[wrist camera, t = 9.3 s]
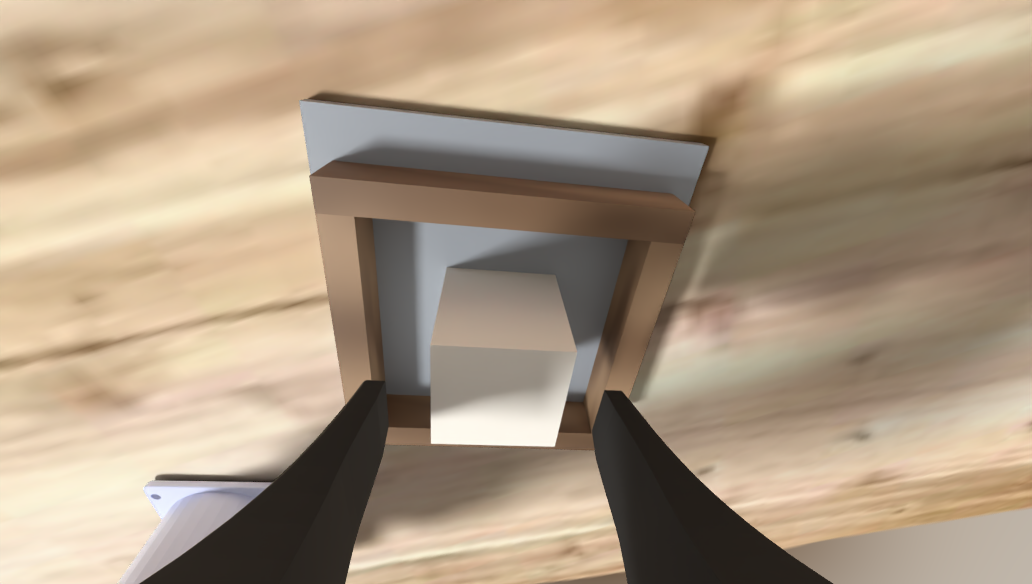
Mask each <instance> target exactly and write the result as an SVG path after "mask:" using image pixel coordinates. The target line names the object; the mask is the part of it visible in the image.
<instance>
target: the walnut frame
mask: <svg viewBox="0 0 1032 584" xmlns="http://www.w3.org/2000/svg"><path fill="white" fill-rule="evenodd" d="M309 177H310V183H311V189H312V196H313V202H314V208H315V215H316V221H317V227H318V234H319V240H320V246H321V253H322V259H323V265H324V272H325V278H326V284H327V291H328V297H329V303H330V310H331V316H332V323H333V329H334V335H335V342H336V348H337V354H338V361H339V367H340V373H341V380H342V386H343V392H344V399H345V405H346V404H347V402H348V401H349V400H350V399H351V397H352V396H353V395H354V393H355V392H356V391H357V389H358V388H359V387H360V385H361V384H362V383H363V382H364V381H365V380H376V381H385V370H384V357H383V345H382V333H381V320H380V308H379V296H378V283H377V271H376V258H375V246H374V234H373V221H372V218H376V219H388V220H400V221H412V222H424V223H436V224H447V225H459V226H471V227H483V228H495V229H507V230H519V231H531V232H543V233H555V234H566V235H578V236H590V237H602V238H614V239H626V240H628V242H627V246H626V250H625V253H624V257H623V260H622V264H621V268H620V271H619V275H618V278H617V282H616V286H615V289H614V293H613V296H612V300H611V304H610V307H609V311H608V314H607V318H606V322H605V325H604V329H603V332H602V336H601V340H600V343H599V347H598V350H597V354H596V358H595V361H594V365H593V368H592V372H591V376H590V379H589V383H588V386H587V390H586V394H585V397H584V401H583V402H569V401H566V402H565V406H564V410H563V414H562V418H561V423H560V427H559V431H558V435H557V439H556V443H555V447H543V446H503V445H463V444H431V396H419V395H394V394H387V407H388V419H389V427H388V432H387V437H386V442H385V445H422V446H458V447H495V448H532V449H569V450H595V449H594V443H593V436H592V428H593V425H594V422H595V419H596V415H597V412H598V409H599V406H600V402H601V399H602V396H603V393H604V390H618V391H622V392H623V393H624V394H625V395H626V396H627V398H628V399H629V396H630V393H631V390H632V388H633V385H634V382H635V379H636V377H637V374H638V371H639V368H640V365H641V363H642V360H643V357H644V354H645V351H646V349H647V346H648V343H649V340H650V338H651V335H652V332H653V329H654V326H655V324H656V321H657V318H658V315H659V312H660V310H661V307H662V304H663V301H664V299H665V296H666V293H667V290H668V287H669V285H670V282H671V279H672V276H673V273H674V271H675V268H676V265H677V262H678V259H679V257H680V254H681V251H682V248H683V246H684V243H685V240H686V237H687V234H688V232H689V229H690V226H691V223H692V220H693V218H694V215H695V211H694V210H693V209H692V208H690V207H689V206H688V205H686V204H685V203H684V202H683V201H681V200H680V199H679V198H677V197H676V196H675V195H673V194H671V193H661V192H651V191H641V190H630V189H620V188H610V187H599V186H589V185H579V184H569V183H558V182H548V181H538V180H528V179H517V178H507V177H497V176H487V175H476V174H466V173H456V172H446V171H435V170H425V169H415V168H405V167H394V166H384V165H374V164H364V163H353V162H343V161H333V160H332V161H331V162H329V163H328V164H326V165H325V166H323V167H322V168H320V169H319V170H317V171H316V172H314V173H313V174H311V175H310V176H309Z"/></svg>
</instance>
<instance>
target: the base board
mask: <svg viewBox="0 0 1032 584" xmlns="http://www.w3.org/2000/svg"><path fill="white" fill-rule="evenodd" d="M299 103H300V109H301V116H302V122H303V128H304V135H305V141H306V148H307V154H308V160H309V167H310V173H311V174H313V173H314V172H316V171H317V170H319V169H320V168H322V167H323V166H325V165H326V164H328V163H329V162H331V161H332V160H333V161H343V162H353V163H364V164H374V165H384V166H394V167H405V168H415V169H425V170H435V171H446V172H456V173H466V174H476V175H487V176H497V177H507V178H517V179H528V180H538V181H548V182H558V183H569V184H579V185H589V186H599V187H610V188H620V189H630V190H641V191H651V192H661V193H671V194H673V195H675V196H676V197H677V198H679V199H680V200H681V201H683V202H684V203H685V204H686V205H688V206H689V204H690V201H691V198H692V195H693V192H694V189H695V186H696V183H697V180H698V178H699V175H700V172H701V169H702V166H703V163H704V160H705V157H706V154H707V152H708V149H709V146H707V145H705V144H703V143H696V142H687V141H678V140H670V139H661V138H652V137H643V136H634V135H625V134H616V133H607V132H598V131H589V130H580V129H571V128H563V127H554V126H545V125H536V124H527V123H518V122H509V121H500V120H491V119H482V118H473V117H464V116H456V115H447V114H438V113H429V112H420V111H411V110H402V109H393V108H384V107H375V106H366V105H357V104H349V103H340V102H331V101H322V100H313V99H304V100H300V101H299ZM372 221H373V234H374V246H375V258H376V271H377V283H378V296H379V308H380V320H381V333H382V345H383V357H384V370H385V382H386V394H394V395H419V396H431V385H430V344H431V339H432V334H433V329H434V325H435V320H436V315H437V311H438V306H439V301H440V297H441V292H442V287H443V282H444V278H445V273H446V268H447V267H449V268H463V269H478V270H492V271H506V272H521V273H535V274H550V275H555V276H556V279H557V283H558V286H559V290H560V293H561V297H562V300H563V304H564V307H565V311H566V314H567V318H568V321H569V325H570V328H571V332H572V335H573V339H574V342H575V346H576V349H577V356H576V360H575V364H574V368H573V373H572V377H571V381H570V385H569V389H568V393H567V398H566V401H569V402H583V401H584V397H585V394H586V390H587V386H588V383H589V379H590V376H591V372H592V368H593V365H594V361H595V358H596V354H597V350H598V347H599V343H600V340H601V336H602V332H603V329H604V325H605V322H606V318H607V314H608V311H609V307H610V304H611V300H612V296H613V293H614V289H615V286H616V282H617V278H618V275H619V271H620V268H621V264H622V260H623V257H624V253H625V250H626V246H627V242H628V240H626V239H614V238H602V237H590V236H578V235H566V234H555V233H543V232H531V231H519V230H507V229H495V228H483V227H471V226H459V225H447V224H436V223H424V222H412V221H400V220H388V219H376V218H372Z"/></svg>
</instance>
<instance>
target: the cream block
mask: <svg viewBox="0 0 1032 584" xmlns="http://www.w3.org/2000/svg"><path fill="white" fill-rule="evenodd" d="M576 356H577V349H576V346H575V342H574V339H573V335H572V332H571V328H570V325H569V321H568V318H567V314H566V311H565V307H564V304H563V300H562V297H561V293H560V290H559V286H558V283H557V279H556V276H555V275H550V274H535V273H521V272H506V271H492V270H478V269H463V268H449V267H447V268H446V273H445V278H444V282H443V287H442V292H441V297H440V301H439V306H438V311H437V315H436V320H435V325H434V329H433V334H432V339H431V344H430V385H431V444H463V445H503V446H543V447H555V443H556V439H557V435H558V431H559V427H560V423H561V418H562V414H563V410H564V406H565V402H566V398H567V393H568V389H569V385H570V381H571V377H572V373H573V368H574V364H575V360H576Z"/></svg>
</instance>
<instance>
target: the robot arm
mask: <svg viewBox="0 0 1032 584" xmlns="http://www.w3.org/2000/svg"><path fill="white" fill-rule="evenodd" d="M388 427H389V419H388V407H387V394H386V382H385V381H376V380H365V381H364V382H363V383H362V384H361V385H360V387H359V388H358V389H357V391H356V392H355V393H354V395H353V396H352V397H351V399H350V400H349V401H348V402H347V404H346V405H345V406H344V407H343V409H342V410H341V411H340V412H339V413H338V415H337V416H336V417H335V418H334V419H333V420H332V422H331V423H330V424H329V425H328V426H327V427H326V429H325V430H324V431H323V432H322V433H321V434H320V435H319V437H318V438H317V439H316V440H315V441H314V442H313V443H312V444H311V445H310V446H309V447H308V448H307V449H306V450H305V451H304V452H303V453H302V454H301V456H300V457H299V458H298V459H297V460H296V461H295V462H294V463H293V464H292V465H291V466H290V467H289V468H288V469H286V470H285V471H284V472H283V473H282V474H281V475H280V476H279V477H278V478H277V479H276V480H275V481H274V482H218V481H160V480H154V481H150V482H148V483H147V484H146V486H145V487H144V488H143V490H144V492H145V494H146V495H147V497H148V499H149V500H150V502H151V503H152V505H153V507H154V508H155V510H156V511H157V513H158V514H159V516H160V518H161V519H162V520H161V522H160V523H159V525H158V526H157V528H156V529H155V530H154V532H153V533H152V535H151V536H150V537H149V539H148V540H147V542H146V543H145V544H144V546H143V547H142V549H141V550H140V552H139V553H138V554H137V556H136V557H135V559H134V560H133V561H132V563H131V564H130V566H129V567H128V568H127V570H126V571H125V573H124V574H123V575H122V577H121V578H120V580H119V581H118V583H117V584H345V582H346V577H347V573H348V569H349V564H350V560H351V556H352V552H353V547H354V543H355V540H356V536H357V533H358V529H359V526H360V523H361V520H362V517H363V514H364V511H365V508H366V505H367V502H368V499H369V496H370V493H371V490H372V487H373V484H374V481H375V478H376V475H377V472H378V468H379V465H380V462H381V459H382V456H383V451H384V447H385V442H386V437H387V432H388ZM592 436H593V443H594V449H595V455H596V460H597V464H598V468H599V471H600V475H601V478H602V482H603V485H604V489H605V492H606V496H607V499H608V502H609V506H610V509H611V513H612V516H613V519H614V523H615V526H616V530H617V534H618V538H619V542H620V546H621V551H622V557H623V562H624V567H625V572H626V577H627V583H628V584H833V583H831V582H830V581H828V580H827V579H825V578H824V577H822V576H821V575H819V574H818V573H816V572H815V571H813V570H812V569H810V568H809V567H807V566H806V565H804V564H803V563H801V562H800V561H798V560H797V559H795V558H794V557H793V556H791V555H790V554H788V553H787V552H786V551H784V550H783V549H782V548H780V547H779V546H777V545H776V544H775V543H773V542H772V541H771V540H769V539H768V538H767V537H765V536H764V535H763V534H761V533H760V532H759V531H758V530H756V529H755V528H754V527H752V526H751V525H750V524H749V523H747V522H746V521H745V520H744V519H743V518H741V517H740V516H739V515H738V514H737V513H735V512H734V511H733V510H732V509H731V508H729V507H728V506H727V505H726V504H725V503H724V502H723V501H721V500H720V499H719V498H718V497H717V496H716V495H715V494H714V493H713V492H712V491H711V490H709V489H708V488H707V487H706V486H705V485H704V484H703V483H702V482H701V481H700V480H699V479H698V478H697V477H696V476H695V475H694V474H693V473H692V472H691V471H690V470H689V469H688V468H687V467H686V466H685V465H684V464H683V463H682V462H681V461H680V460H679V459H678V457H677V456H676V455H675V454H674V453H673V452H672V451H671V450H670V449H669V448H668V446H667V445H666V444H665V443H664V442H663V441H662V439H661V438H660V437H659V436H658V435H657V434H656V432H655V431H654V430H653V429H652V428H651V426H650V425H649V424H648V423H647V421H646V420H645V419H644V418H643V416H642V415H641V414H640V413H639V411H638V410H637V409H636V408H635V406H634V405H633V404H632V403H631V401H630V400H629V399H628V398H627V396H626V395H625V394H624V393H623V392H622V391H618V390H604V393H603V396H602V399H601V402H600V406H599V409H598V412H597V415H596V419H595V422H594V425H593V428H592Z"/></svg>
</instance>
